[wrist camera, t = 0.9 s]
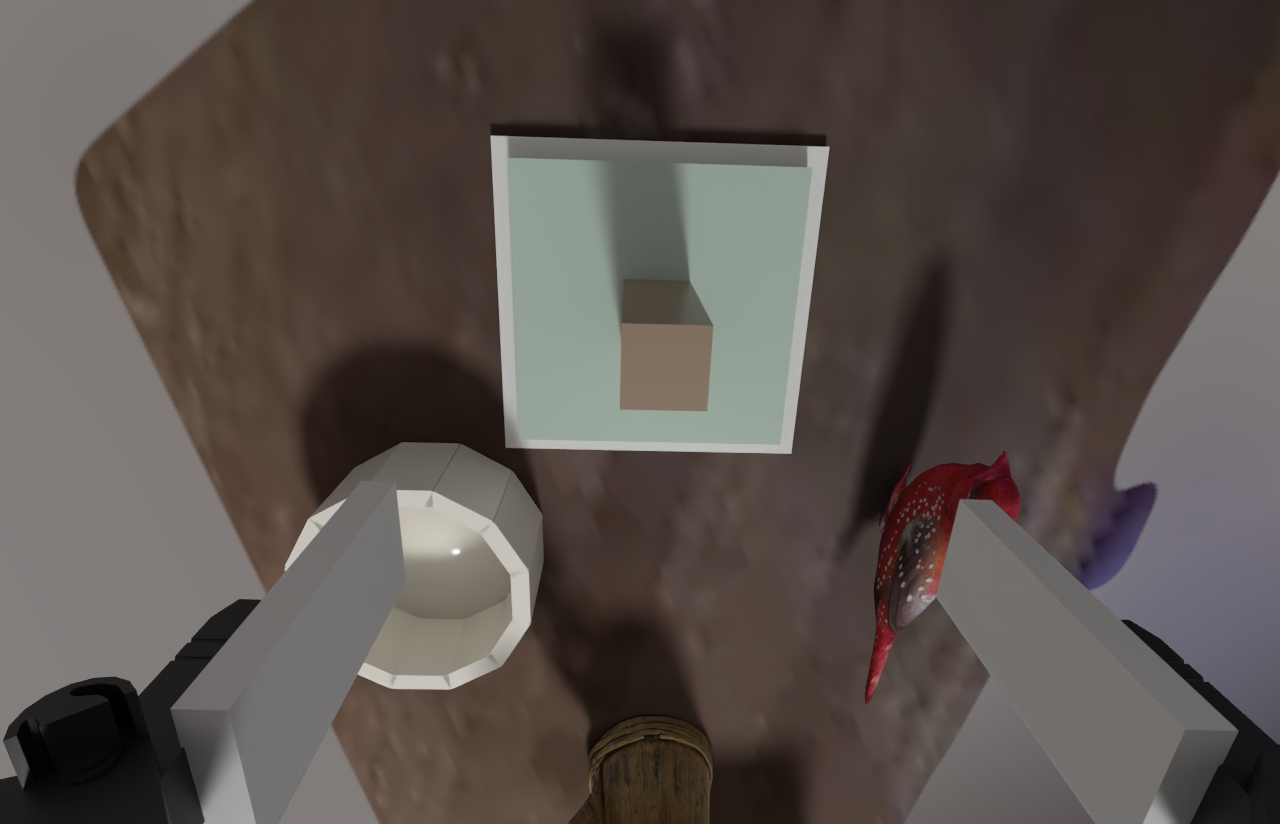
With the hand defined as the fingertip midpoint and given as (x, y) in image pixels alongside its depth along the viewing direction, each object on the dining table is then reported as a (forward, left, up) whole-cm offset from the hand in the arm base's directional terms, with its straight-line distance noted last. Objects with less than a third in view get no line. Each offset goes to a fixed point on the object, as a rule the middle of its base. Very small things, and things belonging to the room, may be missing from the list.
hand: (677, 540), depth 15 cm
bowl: (+13, +14, -22) cm, 30 cm away
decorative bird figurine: (-15, +13, -23) cm, 30 cm away
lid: (0, -1, -22) cm, 22 cm away
